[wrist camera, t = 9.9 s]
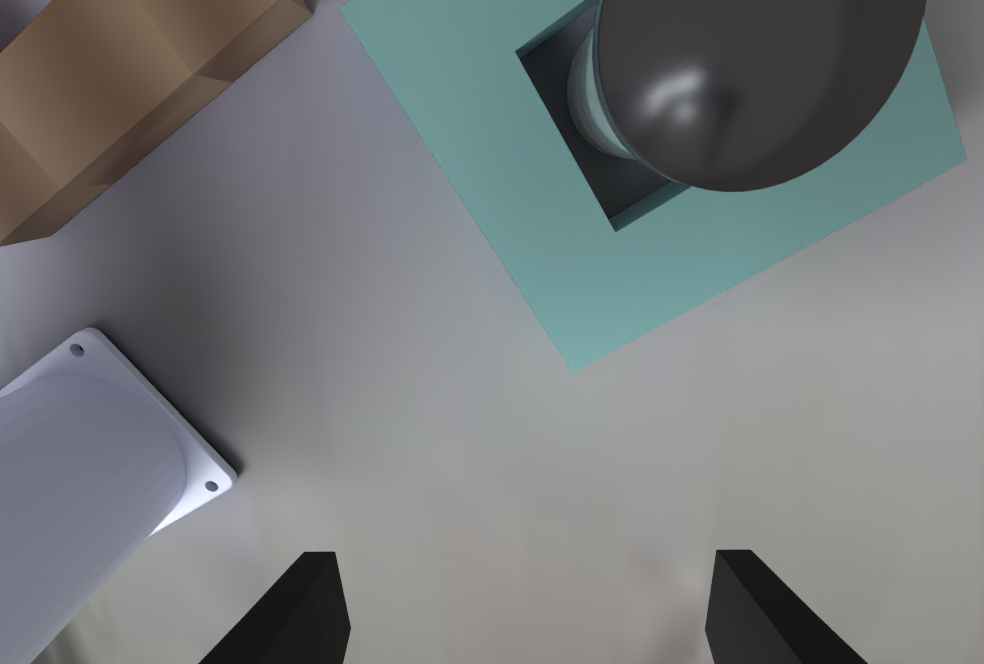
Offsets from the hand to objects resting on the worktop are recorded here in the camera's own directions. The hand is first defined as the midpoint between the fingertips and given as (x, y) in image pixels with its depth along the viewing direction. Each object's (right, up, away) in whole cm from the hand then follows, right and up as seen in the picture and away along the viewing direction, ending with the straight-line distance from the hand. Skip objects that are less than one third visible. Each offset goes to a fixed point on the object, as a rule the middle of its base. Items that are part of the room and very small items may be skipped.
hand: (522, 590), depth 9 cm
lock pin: (+4, +12, +5) cm, 14 cm away
